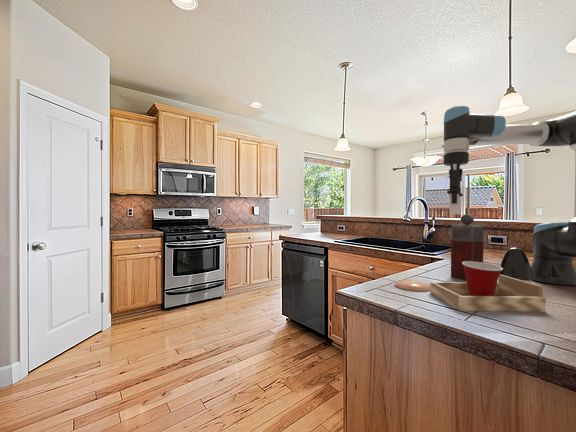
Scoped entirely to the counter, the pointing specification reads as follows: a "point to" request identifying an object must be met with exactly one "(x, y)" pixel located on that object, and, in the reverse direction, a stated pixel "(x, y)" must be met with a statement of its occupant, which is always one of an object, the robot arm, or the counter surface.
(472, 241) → the red canister with knob
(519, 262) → the black bullet-shaped dome
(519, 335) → the counter surface
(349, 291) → the counter surface
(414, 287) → the saucer
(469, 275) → the plastic cup
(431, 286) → the tray
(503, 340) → the counter surface
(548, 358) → the counter surface
